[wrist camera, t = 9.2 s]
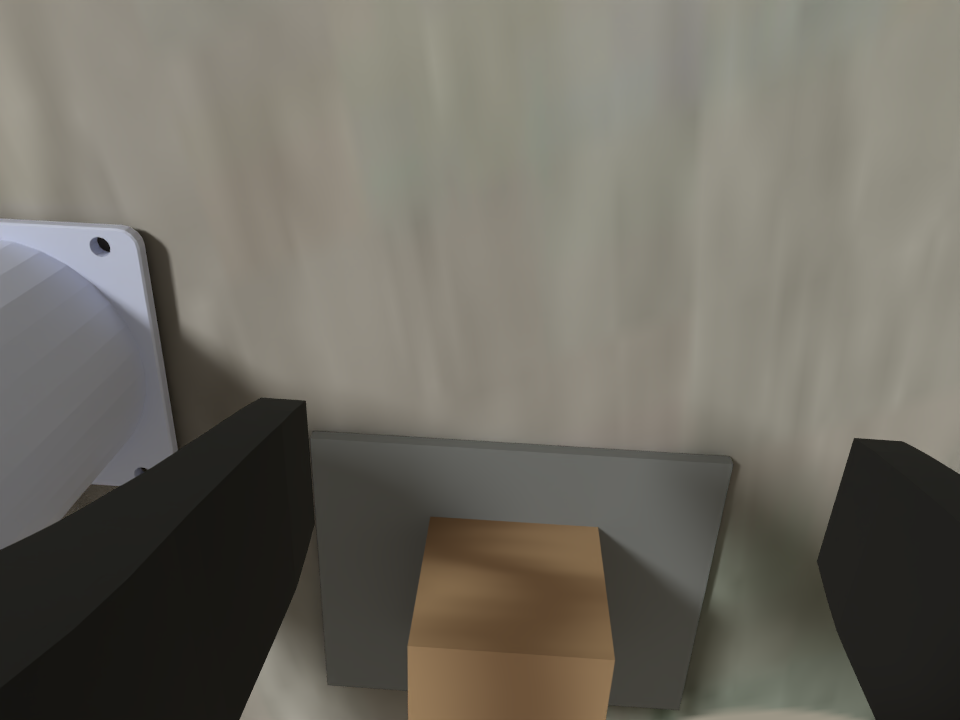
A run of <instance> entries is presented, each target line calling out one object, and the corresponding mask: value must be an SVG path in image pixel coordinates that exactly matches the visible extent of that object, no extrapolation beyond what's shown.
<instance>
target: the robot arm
mask: <svg viewBox="0 0 960 720" xmlns="http://www.w3.org/2000/svg"><path fill="white" fill-rule="evenodd" d="M98 237H100V238H104V239H105V240H106V241H107V242H108V243H109V246H110V252H107V251H104V250H103V249H102V248H101V247H100V246H99V244H98V242H97V239H98ZM140 467H142V468H146V469H148V470H147V471H145V472H143V471H142V470H141V468H140ZM91 484H95V485H110V486H119V487H118V488H116V489H114V490H113V491H111V492H109V493H108V494H106V495H104V496H102V497H101V498H99V499H97V500H96V501H94V502H92V503H90V504H89V505H87V506H85V507H84V508H82V509H80V510H78V511H77V512H75V513H73V514H71V515H69V516H67V517H65V518H64V519H62V518H63V517H64V515H65V514H66V513H67V512H68V511H69V509H70V508H71V507H72V506H73V505H74V503H75V502H76V501H77V500H78V499H79V498H80V496H81V495H82V494H83V493H84V492H85V490H86V489H87V488H88V487H89V486H90V485H91ZM61 519H62V520H61ZM314 524H315V520H314V506H313V493H312V479H311V466H310V452H309V438H308V425H307V411H306V401H301V400H287V399H272V398H260V399H258V400H256V401H254V402H253V403H251V404H249V405H247V406H246V407H244V408H243V409H241V410H239V411H238V412H236V413H235V414H233V415H232V416H230V417H229V418H227V419H225V420H224V421H222V422H221V423H219V424H218V425H216V426H215V427H213V428H212V429H210V430H209V431H207V432H206V433H204V434H203V435H201V436H200V437H198V438H197V439H195V440H194V441H192V442H190V443H189V444H187V445H186V446H184V447H183V448H181V449H180V450H178V447H177V441H176V435H175V428H174V422H173V416H172V410H171V404H170V398H169V391H168V385H167V379H166V373H165V367H164V360H163V354H162V348H161V342H160V336H159V330H158V323H157V317H156V311H155V305H154V299H153V292H152V286H151V280H150V274H149V268H148V262H147V255H146V249H145V244H144V241H143V238H142V237H141V236H140V234H139V233H138V232H137V231H136V230H134V229H133V228H131V227H129V226H125V225H114V224H95V223H77V222H58V221H39V220H20V219H2V218H0V720H239V719H240V717H241V715H242V712H243V710H244V708H245V706H246V703H247V701H248V699H249V696H250V694H251V692H252V690H253V687H254V685H255V683H256V680H257V678H258V676H259V674H260V671H261V669H262V667H263V664H264V662H265V660H266V658H267V655H268V653H269V651H270V649H271V646H272V644H273V642H274V639H275V637H276V635H277V632H278V630H279V628H280V625H281V623H282V621H283V618H284V616H285V614H286V611H287V609H288V607H289V604H290V602H291V600H292V597H293V595H294V592H295V590H296V588H297V584H298V581H299V577H300V574H301V571H302V567H303V564H304V561H305V557H306V553H307V550H308V546H309V542H310V539H311V535H312V531H313V528H314ZM817 563H818V566H819V570H820V574H821V578H822V581H823V585H824V589H825V593H826V597H827V600H828V603H829V607H830V610H831V613H832V617H833V620H834V623H835V626H836V630H837V632H838V635H839V637H840V640H841V642H842V644H843V647H844V649H845V651H846V654H847V656H848V658H849V660H850V663H851V665H852V667H853V670H854V672H855V674H856V676H857V679H858V681H859V683H860V686H861V688H862V690H863V692H864V695H865V697H866V699H867V701H868V703H869V706H870V708H871V710H872V712H873V715H874V717H875V719H876V720H960V474H958V473H957V472H955V471H953V470H952V469H950V468H949V467H947V466H945V465H944V464H942V463H940V462H939V461H937V460H936V459H934V458H932V457H930V456H929V455H927V454H925V453H924V452H922V451H920V450H918V449H916V448H914V447H912V446H910V445H909V444H907V443H905V442H902V441H889V440H874V439H860V438H854V440H853V443H852V447H851V450H850V453H849V457H848V460H847V463H846V467H845V470H844V473H843V477H842V480H841V483H840V487H839V490H838V493H837V497H836V500H835V503H834V506H833V510H832V513H831V516H830V520H829V523H828V526H827V530H826V533H825V536H824V540H823V543H822V546H821V550H820V553H819V556H818V560H817Z"/></svg>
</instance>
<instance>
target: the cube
mask: <svg viewBox="0 0 960 720" xmlns="http://www.w3.org/2000/svg"><path fill="white" fill-rule="evenodd" d="M614 664H615V656H614V648H613V640H612V633H611V625H610V617H609V609H608V601H607V593H606V586H605V578H604V570H603V562H602V554H601V546H600V538H599V531H598V527H588V526H572V525H556V524H540V523H525V522H509V521H493V520H477V519H462V518H446V517H430V521H429V527H428V533H427V538H426V544H425V550H424V555H423V561H422V567H421V572H420V578H419V584H418V590H417V595H416V601H415V607H414V612H413V618H412V624H411V629H410V635H409V641H408V720H606V714H607V708H608V701H609V695H610V689H611V682H612V676H613V670H614Z"/></svg>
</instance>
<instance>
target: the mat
mask: <svg viewBox="0 0 960 720" xmlns="http://www.w3.org/2000/svg"><path fill="white" fill-rule="evenodd" d="M310 443H311V458H312V472H313V486H314V500H315V514H316V528H317V542H318V556H319V571H320V585H321V599H322V613H323V627H324V641H325V655H326V670H327V684H328V685H333V686H347V687H361V688H375V689H389V690H403V691H408V641H409V635H410V629H411V624H412V618H413V612H414V607H415V601H416V595H417V590H418V584H419V578H420V572H421V567H422V561H423V555H424V550H425V544H426V538H427V533H428V527H429V521H430V517H446V518H462V519H477V520H493V521H509V522H525V523H540V524H556V525H572V526H588V527H598V531H599V538H600V546H601V554H602V562H603V570H604V578H605V586H606V593H607V601H608V609H609V617H610V625H611V633H612V640H613V648H614V656H615V664H614V670H613V676H612V682H611V689H610V695H609V701H608V705H614V706H628V707H642V708H656V709H671V710H679V708H680V704H681V699H682V695H683V690H684V686H685V681H686V677H687V672H688V667H689V663H690V658H691V654H692V649H693V645H694V640H695V636H696V631H697V627H698V622H699V618H700V613H701V608H702V604H703V599H704V595H705V590H706V586H707V581H708V577H709V572H710V568H711V563H712V559H713V554H714V549H715V545H716V540H717V536H718V531H719V527H720V522H721V518H722V513H723V509H724V504H725V500H726V495H727V490H728V486H729V481H730V477H731V472H732V468H733V462H732V460H731V458H730V456H716V455H699V454H683V453H667V452H650V451H634V450H617V449H601V448H585V447H568V446H552V445H535V444H519V443H503V442H486V441H470V440H453V439H437V438H421V437H404V436H388V435H372V434H355V433H339V432H322V431H313V433H312V435H311V438H310Z"/></svg>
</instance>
